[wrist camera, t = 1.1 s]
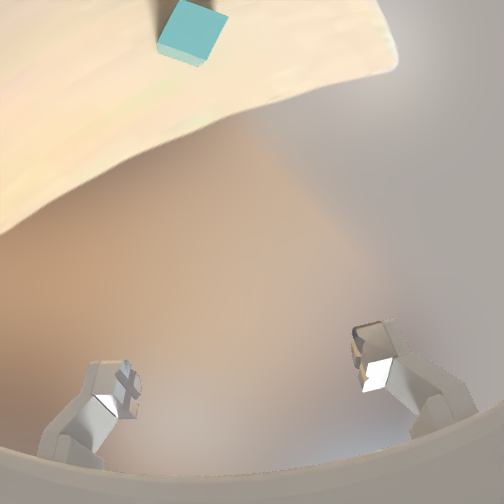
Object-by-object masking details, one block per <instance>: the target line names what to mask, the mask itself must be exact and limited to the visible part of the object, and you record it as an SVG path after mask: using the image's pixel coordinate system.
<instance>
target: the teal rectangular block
mask: <svg viewBox="0 0 504 504" xmlns="http://www.w3.org/2000/svg"><path fill="white" fill-rule="evenodd" d="M227 19H228V16H225V15H223V14H220V13H218V12H215V11H213V10H210V9H208V8H205V7H202V6H199V5H197V4H194V3H191V2H188V1H185V0H179V2H178V4H177V5H176V7H175V9H174V11H173V13H172V15H171V16H170V18H169V20H168V22H167V24H166V26H165V28H164V30H163V32H162V34H161V36H160V38H159V40H158V42H157V48H158V53H159V54H162V55H165V56H168V57H171V58H174V59H177V60H180V61H183V62H185V63H188V64H191V65H194V66H196V67H199V66H200V65H201V64H202V63H204V62H205V61H206V60H207V58H208V56H209V54H210V52H211V50H212V48H213V46H214V44H215V42H216V40H217V38H218V36H219V34H220V32H221V31H222V29H223V27H224V25H225V23H226V21H227Z"/></svg>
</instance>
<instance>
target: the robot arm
mask: <svg viewBox="0 0 504 504" xmlns="http://www.w3.org/2000/svg"><path fill="white" fill-rule="evenodd" d="M352 336H353V339H354V340H353V341H352V342H351V352H352V358H353V362H354V366H355V367H356V368H357V369H359V374H358V378H359V382H360V384H361V388H362V391H363V392H366V391H370V390H374V389H379V388H382V387H385V388H386V389H387V390H388V391H389V392H390V393H392V394H393V395H394V396H395V397H396V398H397V399H398V400H400V401H401V402H402V403H403V404H404V405H405V406H407V407H408V408H409V409H410V410H411V411H412V412H414V413H415V414H416V415H417V416H418V417H417V419H416V420H415V422H414V424H413V426H412V427H411V429H410V430H409V431H410V435H411V438H412V440H410V441H407V442H404V443H401V444H398V445H395V446H391V447H388V448H385V449H381V450H378V451H374V452H371V453H367V454H363V455H359V456H355V457H351V458H347V459H343V460H338V461H333V462H329V463H324V464H319V465H313V466H307V467H301V468H295V469H288V470H280V471H272V472H263V473H253V474H241V475H224V476H162V475H144V474H132V473H123V472H114V471H105V470H104V465H105V462H104V460H103V459H102V458H100V457H99V456H97V455H96V454H95V453H96V451H97V449H98V448H99V447H100V446H101V444H102V443H103V441H104V440H105V438H106V437H107V435H108V434H109V433H110V431H111V430H112V428H113V427H114V426H115V424H116V423H117V421H118V419H137V413H138V407H139V404H138V402H137V400H136V399H137V398H138V397H139V396H140V395H141V389H142V387H141V380H140V377H139V375H138V374H137V373H136V372H135V371H133V370H132V369H130V368H131V364H130V363H129V362H128V361H127V360H104V361H92V362H91V363H90V364H89V366H88V370H87V373H86V376H85V379H84V382H83V386H82V389H81V393H80V395H77V396H75V397H74V399H73V400H72V401H71V402H70V403H69V404H68V405H67V406H66V407H65V408H64V409H63V410H62V411H61V412H60V413H59V414H58V415H57V416H56V417H55V419H54V420H53V421H52V422H51V423H50V424H49V425H48V426H47V427H46V428H45V429H44V430H43V433H42V437H41V441H40V445H39V448H38V452H37V456H36V457H35V456H31V455H27V454H23V453H20V452H17V451H13V450H10V449H7V448H4V447H1V446H0V504H504V400H503V401H501V402H499V403H497V404H495V405H493V406H491V407H489V408H487V409H485V410H483V411H481V412H478V410H477V408H476V405H475V403H474V401H473V399H472V397H471V395H470V392H469V391H468V388H467V386H466V384H465V383H464V382H462V381H461V380H460V379H458V378H457V377H455V376H453V375H452V374H450V373H449V372H447V371H445V370H444V369H442V368H441V367H439V366H438V365H436V364H434V363H433V362H431V361H430V360H428V359H427V358H425V357H423V356H422V355H420V354H419V353H417V352H412V351H411V349H410V347H409V345H408V343H407V341H406V339H405V336H404V335H403V332H402V330H401V328H400V326H399V324H398V322H397V320H396V319H395V318H390V319H386V320H382V321H377V322H373V323H369V324H365V325H360V326H356V327H354V328H353V330H352Z"/></svg>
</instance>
